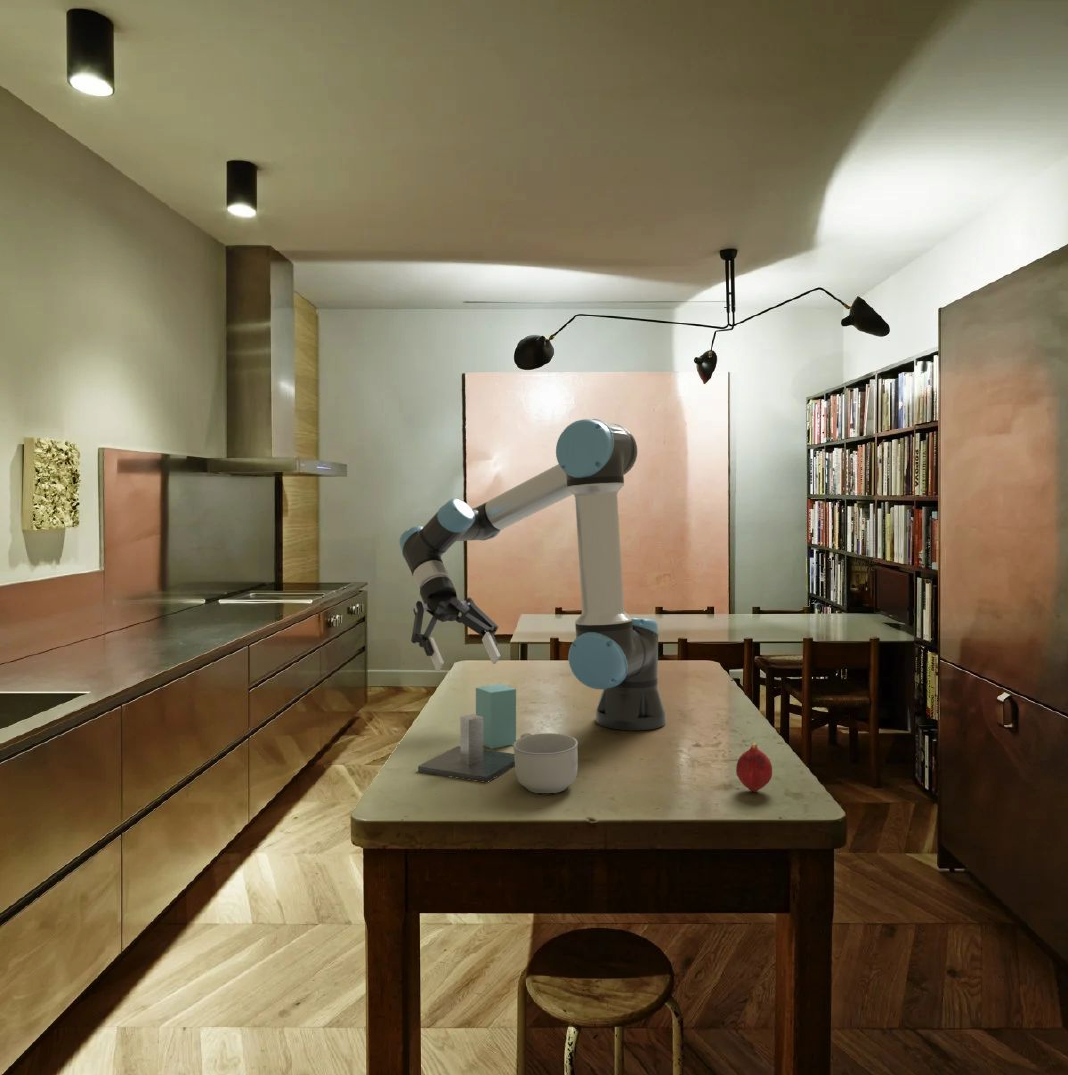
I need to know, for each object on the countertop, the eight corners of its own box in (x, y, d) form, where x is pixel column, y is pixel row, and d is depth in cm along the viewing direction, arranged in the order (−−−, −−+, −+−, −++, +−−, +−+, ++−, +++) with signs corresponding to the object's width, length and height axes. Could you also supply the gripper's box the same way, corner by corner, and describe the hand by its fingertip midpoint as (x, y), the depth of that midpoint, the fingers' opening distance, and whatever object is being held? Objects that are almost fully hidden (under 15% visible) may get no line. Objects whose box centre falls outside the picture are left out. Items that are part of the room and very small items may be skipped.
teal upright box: (500, 737, 172) (500, 683, 171) (516, 744, 167) (516, 689, 167) (475, 741, 168) (475, 687, 168) (491, 748, 164) (491, 692, 163)
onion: (777, 797, 136) (778, 748, 136) (742, 798, 136) (743, 749, 136) (764, 785, 142) (765, 738, 142) (731, 786, 142) (731, 739, 141)
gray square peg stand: (523, 760, 156) (523, 712, 156) (487, 782, 144) (487, 730, 143) (458, 751, 162) (458, 704, 162) (418, 771, 149) (417, 721, 149)
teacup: (586, 795, 137) (587, 747, 137) (522, 802, 134) (523, 752, 134) (560, 770, 151) (560, 726, 150) (501, 775, 148) (501, 730, 147)
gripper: (477, 593, 197) (512, 667, 185) (378, 600, 182) (409, 680, 171) (489, 572, 192) (525, 646, 180) (388, 577, 178) (421, 658, 166)
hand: (469, 663), depth 175 cm, fingers open, 13 cm apart
